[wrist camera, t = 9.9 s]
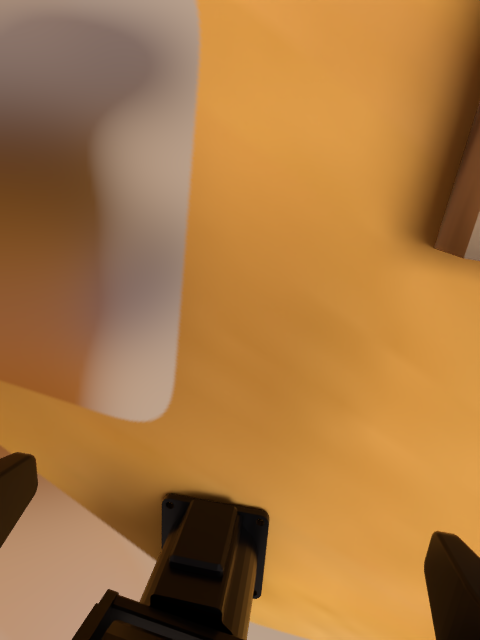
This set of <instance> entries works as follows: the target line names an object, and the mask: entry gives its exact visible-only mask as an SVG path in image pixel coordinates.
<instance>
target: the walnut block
mask: <svg viewBox="0 0 480 640" xmlns="http://www.w3.org/2000/svg"><path fill="white" fill-rule="evenodd" d="M434 248H435V249H438V250H441V251H444V252H447V253H450V254H453V255H456V256H459V257H462V258H465V259H471V260H477V261H480V102H479V105H478V108H477V111H476V115H475V118H474V121H473V124H472V127H471V131H470V134H469V137H468V140H467V143H466V147H465V150H464V153H463V156H462V159H461V163H460V166H459V169H458V172H457V175H456V179H455V182H454V185H453V188H452V191H451V195H450V198H449V201H448V204H447V207H446V211H445V214H444V217H443V220H442V224H441V227H440V230H439V233H438V236H437V240H436V243H435V246H434Z"/></svg>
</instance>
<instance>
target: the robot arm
mask: <svg viewBox="0 0 480 640" xmlns="http://www.w3.org/2000/svg"><path fill="white" fill-rule="evenodd" d="M37 486H38V479H37V467H36V459H35V457H34V456H33V455H31V454H25V453H19V452H17V453H13V454H11V455H8V456H6V457H3V458H1V459H0V548H1V546H2V545H3V543H4V542H5V540H6V538H7V537H8V535H9V534H10V532H11V531H12V529H13V528H14V526H15V524H16V523H17V521H18V520H19V518H20V517H21V515H22V514H23V512H24V510H25V509H26V507H27V506H28V504H29V503H30V501H31V500H32V498H33V496H34V495H35V493H36V490H37ZM169 502H171V503H173V504H171V503H169ZM258 519H262V520H263V521H260V520H258ZM268 527H269V515H268V513H266V512H265V511H262V510H257V509H252V508H246V507H241V506H235V505H230V504H225V503H219V502H214V501H208V500H203V499H197V498H192V497H186V496H181V495H175V494H168V495H166V496H165V498H164V500H163V502H162V550H161V553H160V555H159V557H158V560H157V562H156V565H155V567H154V569H153V572H152V574H151V576H150V579H149V581H148V583H147V586H146V588H145V591H144V593H143V595H142V598H141V600H140V602H137V601H134V600H132V599H129V598H126V597H123V596H120V595H119V593H118V592H116V591H113V590H110V589H108V590H107V591H106V593H105V594H104V596H103V598H102V599H101V600H100V602H99V603H98V604H97V603H96V604H95V606H94V607H93V609H92V610H91V612H90V613H89V615H88V616H87V618H86V619H85V621H84V622H83V624H82V625H81V627H80V628H79V629H78V631H77V632H76V634H75V636H74V637H73V638H72V640H247V633H248V627H249V620H250V613H251V606H252V599H257V598H259V597H260V596H261V591H262V582H263V573H264V564H265V555H266V546H267V537H268ZM424 573H425V579H426V585H427V591H428V596H429V602H430V608H431V613H432V619H433V625H434V630H435V636H436V640H480V558H479V557H478V556H477V555H476V554H475V553H474V552H473V551H472V550H471V549H470V548H469V547H468V546H467V545H466V544H465V543H464V542H463V541H462V540H461V539H460V538H459V537H458V536H457V535H455V534H451V533H446V532H440V531H436V532H434V533H433V534H432V537H431V540H430V544H429V547H428V551H427V554H426V558H425V562H424Z"/></svg>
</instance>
